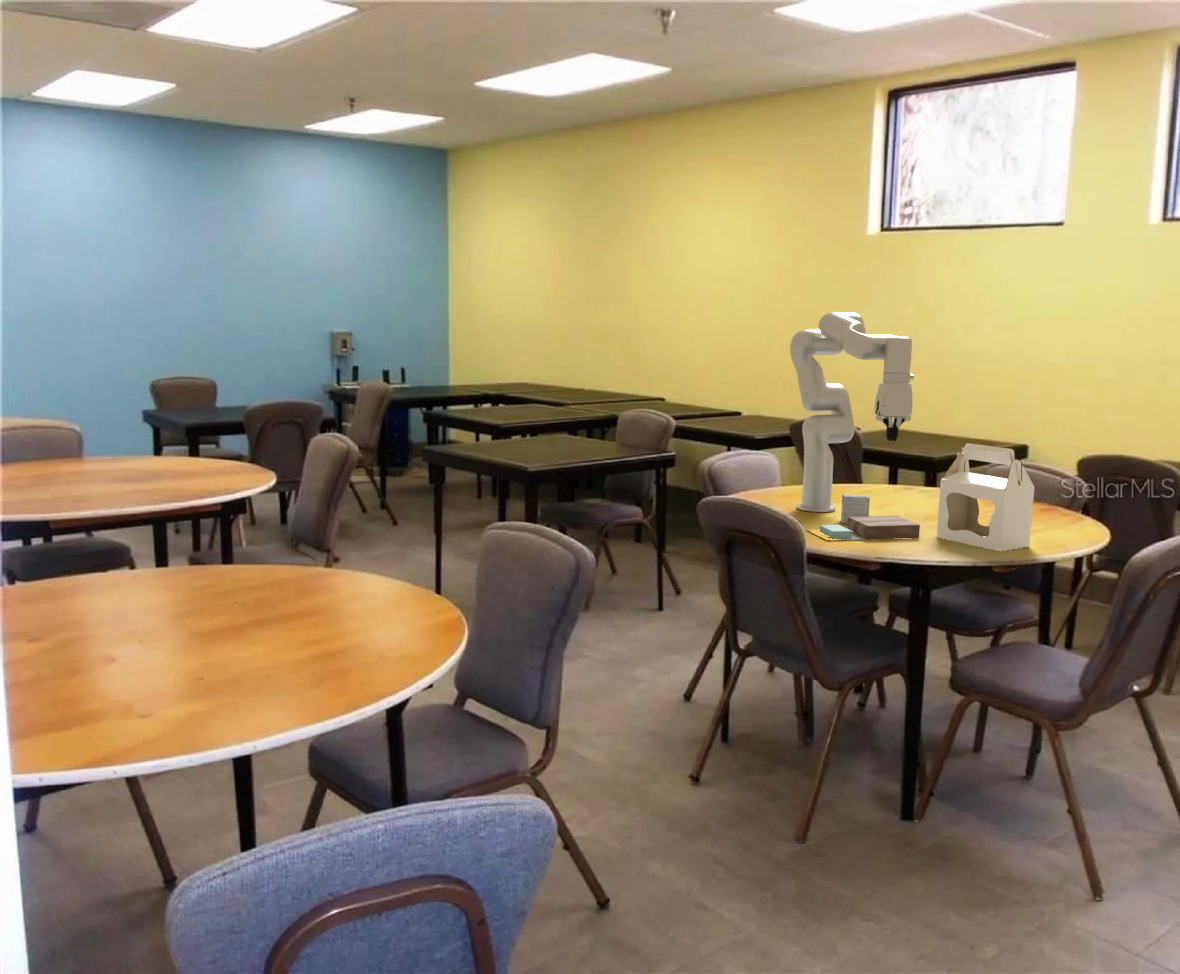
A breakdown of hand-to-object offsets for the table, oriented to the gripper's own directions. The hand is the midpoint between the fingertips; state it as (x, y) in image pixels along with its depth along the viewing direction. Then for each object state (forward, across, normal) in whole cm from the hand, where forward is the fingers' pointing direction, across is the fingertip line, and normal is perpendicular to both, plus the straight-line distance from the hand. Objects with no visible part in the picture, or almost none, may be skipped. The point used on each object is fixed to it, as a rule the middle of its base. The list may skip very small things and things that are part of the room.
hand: (891, 440), depth 305 cm
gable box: (+27, -22, +18) cm, 39 cm away
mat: (+28, +18, +6) cm, 33 cm away
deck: (+28, +3, +5) cm, 28 cm away
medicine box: (+28, +5, -12) cm, 31 cm away
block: (+25, +18, +6) cm, 32 cm away
